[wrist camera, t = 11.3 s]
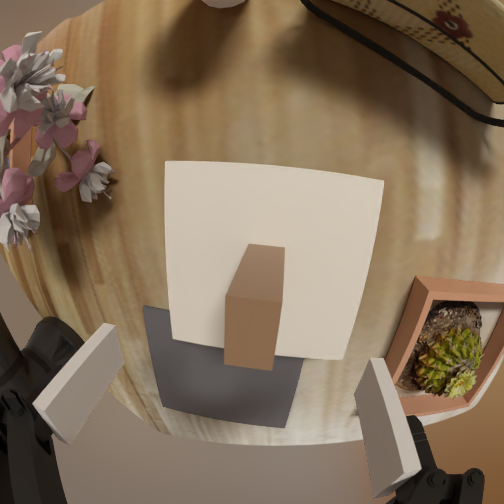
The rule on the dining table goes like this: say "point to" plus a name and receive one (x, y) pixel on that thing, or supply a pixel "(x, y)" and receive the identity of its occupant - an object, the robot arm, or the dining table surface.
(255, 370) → the rubber mat
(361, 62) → the dining table surface
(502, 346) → the cactus tray
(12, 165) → the flower tray
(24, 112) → the flower
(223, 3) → the foam cup
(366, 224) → the board
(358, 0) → the clutch purse
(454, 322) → the cactus
